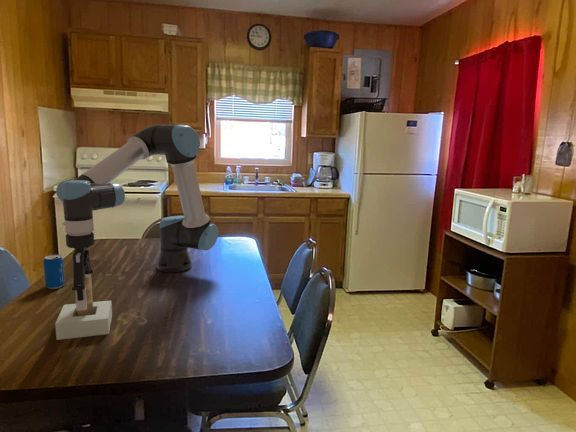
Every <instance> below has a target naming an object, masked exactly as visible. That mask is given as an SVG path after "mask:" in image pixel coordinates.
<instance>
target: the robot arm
mask: <svg viewBox="0 0 576 432" xmlns="http://www.w3.org/2000/svg"><path fill="white" fill-rule="evenodd" d="M200 139H201V138H200V136H199V134H198V132H197V131H196V130H195V129H194V128H193V127H192V126H189V125H185V124H161V123H160V124H159V123H158V124H152V125H150V126H147V127H146V128H143V129H141V130H139V131H138V132H136V133H134V134H132V136H130V137H128V139H127V140H126V143H125V144H123V145H122V146H121V147H119V148H118V149H115V151H113V152H112V153H110V154H109V155H107V156H106V157H105V158H103V159H102V160H101V161H98V163H96V164H94V165H93V166H91V168H90V167H89V169H87V170H86V171H84V172H82V174H80V175H79V176H77V177H76V178H74V179H72V180H71V179H68V180H67V179H66V180H65V179H64V180H62V181H60V182H59V183H58V185H56V189H55V194H56V196H57V198H58V200H59V201H61V202H62V204H63V205H62V206H63V217H64V222H62V225H63V227H64V226H65V227H64V229H65V233H66V235H65V243H66V247H68V248H69V249H74V251H73V253H72V261H73V263H72V264H73V287H71V291H74V295H75V304H76V311H79V310H87V301H86V288H85V274H88V275H91V274H93V273H94V269H92V266H91V260H90V259H91V258H90V249H89V248H90V247H92V246H94V245H95V233H94V232H93V231H94V228H95V227H94V216H93V215H94V214H93V213H94V212H93V211H98V210H106V209H109V208H116V207H119V206H121V205H122V204H124V202H125V199H126V193H125V190H124V188H123V186H122V185H120V184H119V183H116V182H115V183H114V182H113V183H111V182H112V181H114V180H116V178H118V177H119V176H120V175H122V174H123V173H124V172H126V171H127V170H129V169H130V168H131V167H132V166H134V165H135V164H136V163H138V162H139V161H140V160H142V161H143V160H146V159H148V158H149V157H152V156H155V155H159V156H164V157H165V160H166V163H167V165H170V166H171V168H172V171H173V176H174V180H175V185H176V187H177V193H178V197H179V201H180V204H181V209H182V213H183V215H173V216H172V215H171V216H168V217H164V218H163V217H162V219H160V221H159V229H158V230H159V246H160V248H159V249H160V251H159V255H158V258H157V261H156V270H158V271H159V272H163V273H181V272H185V271H188V270H190V269H191V268H192V267H193V266H192V264H193V263H192V259H191V256H190V252H189V250H188V248H189V249H194V250H199V251H209V250H211V249H212V248H214V246H215V245H216V243H217V240H218V237H219V228H218V226H217V225H216V224H215V223H211V217H210V216H209V215H208V214H206V212H205V207H204V202H203V198H202V194H201V189H200V184H199V180H198V175H197V170H196V166H195V160H197V155H198V154H199V153H200V149H201V148H200V147H201V140H200ZM91 276H92V275H91ZM77 285H81V286H77Z"/></svg>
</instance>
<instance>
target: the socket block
mask: <svg viewBox="0 0 576 432" xmlns="http://www.w3.org/2000/svg"><path fill="white" fill-rule="evenodd" d="M112 317H113V305H112V300H104V301H93V315H86V316H78V314H77V311H76V303H68V304H63V306H62V308H61V310H60V312H59V314H58V316H57V319H56V321H55V324H54V326H55V327H54V328H55V336H56V337H55V338H56V341H58V340H59V341H60V340H70V339H77V338H86V337H93V336H95V337H96V336H104V335H110V330H111V329H110V328H111V324H112Z"/></svg>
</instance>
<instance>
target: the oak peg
mask: <svg viewBox="0 0 576 432" xmlns="http://www.w3.org/2000/svg"><path fill="white" fill-rule="evenodd" d="M77 286H81V285H77ZM85 288H86V301H87V310H79V311H77V314H78V316H86V315H93V302H94V301H93V285H92V275H88V274H85Z"/></svg>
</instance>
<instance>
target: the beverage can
mask: <svg viewBox="0 0 576 432" xmlns="http://www.w3.org/2000/svg"><path fill="white" fill-rule="evenodd" d="M43 270H44V272H43V273H44V283H45V287H46V288H48V289H50V290H55V289H60V288H62V287H63V286H64V285H66V282H65V280H66V279H65V269H64V258H63V257H62V255H61V254H50V255H46V256H44V259H43Z"/></svg>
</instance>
